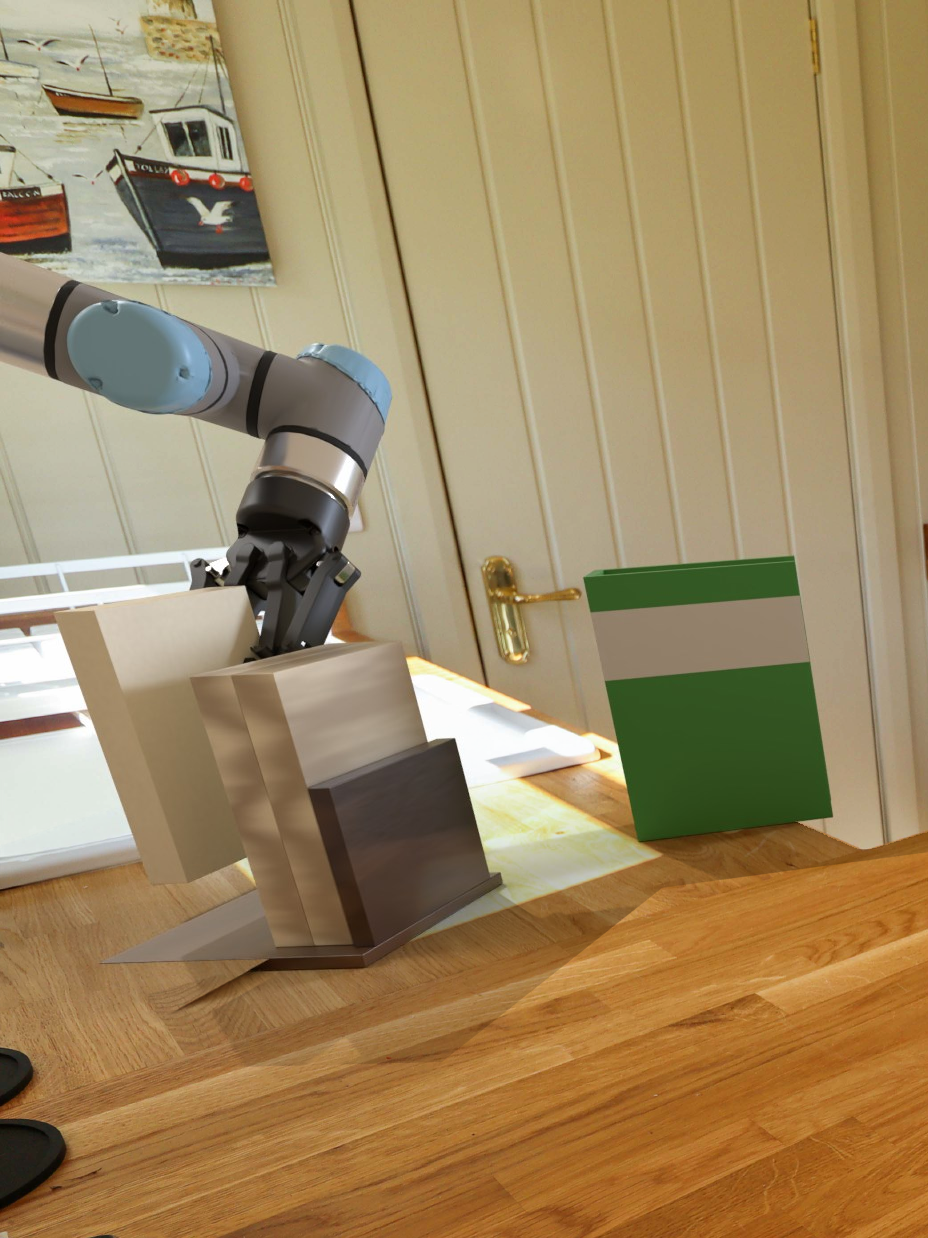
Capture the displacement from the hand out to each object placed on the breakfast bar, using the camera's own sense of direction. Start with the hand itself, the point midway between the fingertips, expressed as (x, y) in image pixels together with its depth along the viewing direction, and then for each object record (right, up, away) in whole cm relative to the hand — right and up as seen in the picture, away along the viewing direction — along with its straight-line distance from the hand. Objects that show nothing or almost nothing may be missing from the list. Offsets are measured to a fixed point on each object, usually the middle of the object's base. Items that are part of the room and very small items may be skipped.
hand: (213, 737), depth 98 cm
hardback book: (+32, -5, +25) cm, 41 cm away
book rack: (+7, -15, +2) cm, 16 cm away
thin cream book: (0, -9, +2) cm, 9 cm away
